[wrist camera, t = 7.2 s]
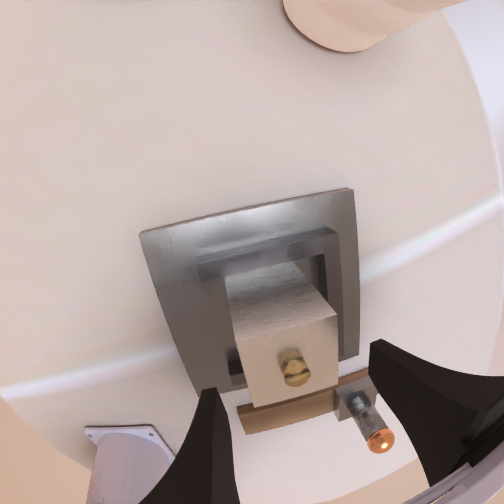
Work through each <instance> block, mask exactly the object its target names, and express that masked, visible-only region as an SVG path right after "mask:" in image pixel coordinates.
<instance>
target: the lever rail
mask: <svg viewBox="0 0 504 504" xmlns="http://www.w3.org/2000/svg"><path fill="white" fill-rule="evenodd" d="M367 376H369V375H368V368H366V369H364V370H361V371H359V372H356V373H353V374H350V375H348V376H345V377H342V378H339V379H338V384H336V385H333V386H331V387H328V388H324V389H321V390H318V391H315V392H312V393H308V394H305V395H302V396H298V397H295V398H291V399H287V400H284V401H280V402H276V403H272V404H268V405H264V406H259V407H255V408H254V405H253V403H252V404H248V405H243V406H238V407H237V409H238V415H239V418H240V420H241V423H242V425H243V428H244V431H245V433H246V435H248V434H253V433H258V432H262V431H266V430H270V429H275V428H278V427H282V426H286V425H290V424H293V423H297V422H300V421H304V420H307V419H310V418H314V417H317V416H320V415H323V414H326V413H329V412H332V411H334V388H337V387H340V386H343V385H345V384H348V383H351V382H354V381H356V380H359V379H361V378H364V377H367ZM378 393H379V392H378V391H377V394H378Z"/></svg>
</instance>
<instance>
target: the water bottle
mask: <svg viewBox="0 0 504 504" xmlns="http://www.w3.org/2000/svg"><path fill="white" fill-rule="evenodd" d="M464 1H467V0H283V5H284V8H285V11H286V13H287V15H288V17H289V19H290V20H291V22H292V23H293V24H294V25H295V27H296V28H297V29H298V30H299V31H300V32H302V33H303V34H304V35H305V36H307V37H308V38H309V39H311V40H312V41H314V42H316V43H318V44H320V45H322V46H324V47H326V48H329V49H332V50H336V51H342V52H357V51H362V50H365V49H367V48H369V47H371V46H373V45H375V44H377V43H378V42H380V41H381V40H383V39H384V38H386V37H387V36H388V35H390V34H391V33H392V32H394V31H397V30H401V29H403V28H406V27H408V26H411V25H413V24H415V23H416V22H418V21H420V20H422V19H423V18H424V17H426V16H427V15H428V14H429V13H430V12H431V11H434V10H438V9H441V8H445V7H448V6H451V5H455V4H458V3H461V2H464Z"/></svg>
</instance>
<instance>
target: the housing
mask: <svg viewBox="0 0 504 504" xmlns="http://www.w3.org/2000/svg"><path fill="white" fill-rule="evenodd" d="M225 286H226V291H227V297H228V303H229V308H230V314H231V319H232V325H233V330H234V336H235V341H236V345H237V348H238V352H239V356H240V360H241V363H242V367H243V370H244V374H245V378H246V381H247V385H248V388H249V392H250V395H251V399H252V402H253V405H254V408H255V407H259V406H264V405H268V404H272V403H276V402H280V401H284V400H287V399H291V398H295V397H298V396H302V395H305V394H308V393H312V392H315V391H318V390H321V389H324V388H328V387H331V386H333V385H336V384H338V320H337V314H336V312H335V311H334V310H333V309H332V307H331V306H330V305H329V304H328V303H327V301H326V300H325V299H324V298H323V297H322V295H321V294H320V293H319V292H318V291H317V289H316V288H315V287H314V286H313V285H312V283H311V282H310V281H309V280H308V279H307V277H306V276H305V275H304V274H303V273H302V272H301V270H300V269H299V268H298V267H293V268H289V269H285V270H280V271H276V272H272V273H268V274H263V275H259V276H255V277H250V278H246V279H241V280H237V281H233V282H228V283H225Z"/></svg>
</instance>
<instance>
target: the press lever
mask: <svg viewBox="0 0 504 504" xmlns="http://www.w3.org/2000/svg"><path fill="white" fill-rule="evenodd" d="M376 395H377V390H376V388H375V386H374V384H373V382H372V380H371V378H370V377H369V376H367V377H364V378H361V379H359V380H356V381H354V382H351V383H348V384H345V385H343V386H340V387H337V388H334V413H335V415H336V417H337V419H338V421H342V420H345V419H347V418H350V417H353V418H354V420H355V422H356V424H357V426H358V427H359V429H360V431H361V433H362V434H363V436H364V438H365V440H366V442H367V445H368V448H369V449H370V450H371V451H372V452H374V453H384V452H386V451H388V450H389V449H390V448H391V447H392V446H393V444H394V441H395V437H394V434H393V432H392V431H391V430H390V429H389V428H388V427H387V425H386V424H385V422H384V420H383V419H382V417H381V416H380V414H379V413H378V411H377V410H376V408H375V401H376Z"/></svg>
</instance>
